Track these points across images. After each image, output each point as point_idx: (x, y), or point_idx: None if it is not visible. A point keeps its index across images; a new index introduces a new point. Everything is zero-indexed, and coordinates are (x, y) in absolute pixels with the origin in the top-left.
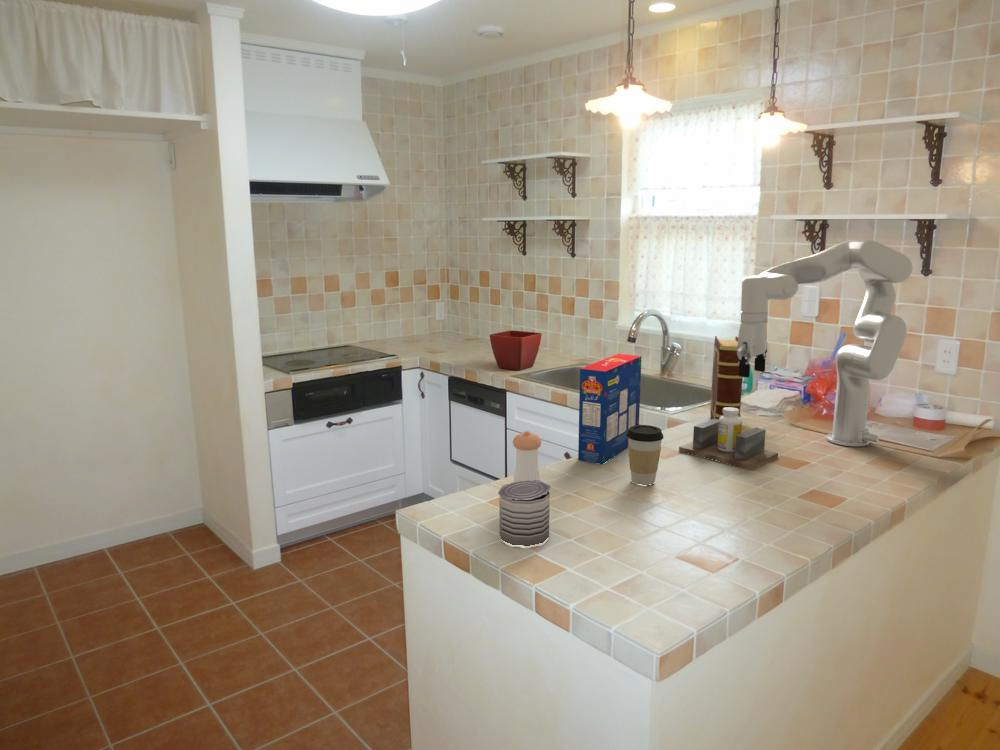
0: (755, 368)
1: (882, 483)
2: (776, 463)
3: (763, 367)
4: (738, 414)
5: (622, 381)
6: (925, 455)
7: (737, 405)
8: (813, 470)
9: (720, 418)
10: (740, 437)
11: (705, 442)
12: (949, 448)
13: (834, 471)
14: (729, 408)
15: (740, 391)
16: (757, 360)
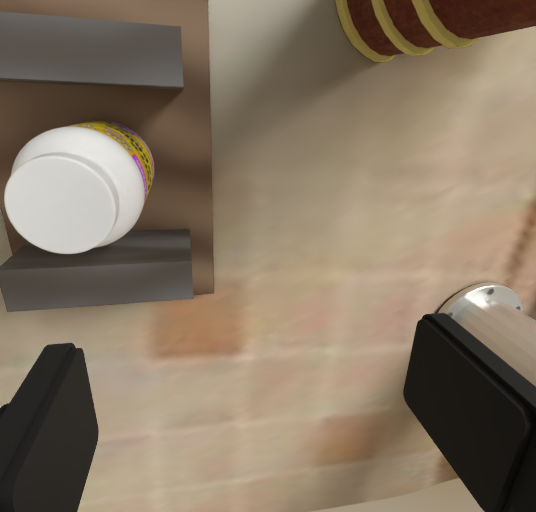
0: (430, 337)
1: (215, 487)
2: (161, 307)
3: (424, 428)
4: (421, 46)
5: None
6: None
7: (436, 38)
8: (184, 386)
9: (22, 153)
10: (3, 287)
11: (26, 81)
12: None
13: (217, 412)
14: (65, 193)
15: (520, 26)
16: (494, 430)
